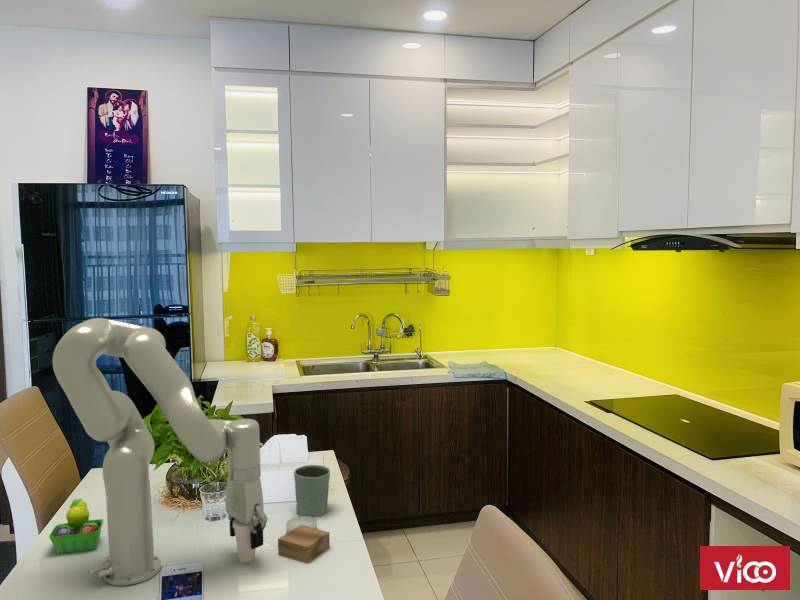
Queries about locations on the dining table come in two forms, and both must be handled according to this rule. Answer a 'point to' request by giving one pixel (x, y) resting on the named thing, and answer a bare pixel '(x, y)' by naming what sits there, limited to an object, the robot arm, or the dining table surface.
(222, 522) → the dining table surface
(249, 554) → the smoothie
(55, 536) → the fruit basket
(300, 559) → the walnut base
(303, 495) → the grey-green hollow tall cylinder
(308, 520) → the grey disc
